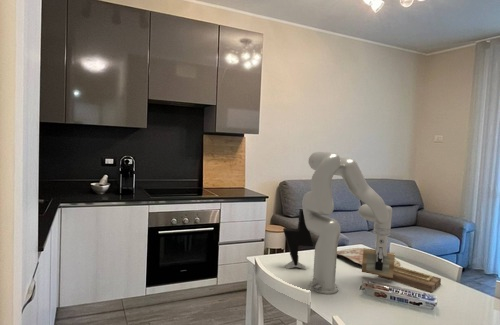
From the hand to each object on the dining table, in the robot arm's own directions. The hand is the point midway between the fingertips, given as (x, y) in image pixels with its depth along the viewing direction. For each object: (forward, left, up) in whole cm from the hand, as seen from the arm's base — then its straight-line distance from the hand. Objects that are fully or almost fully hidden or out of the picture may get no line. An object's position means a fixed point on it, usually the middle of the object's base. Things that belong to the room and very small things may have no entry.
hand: (378, 268), depth 160 cm
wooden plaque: (0, 0, -3) cm, 3 cm away
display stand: (+12, -10, -6) cm, 16 cm away
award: (-18, +35, -6) cm, 40 cm away
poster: (+24, +18, -6) cm, 30 cm away
